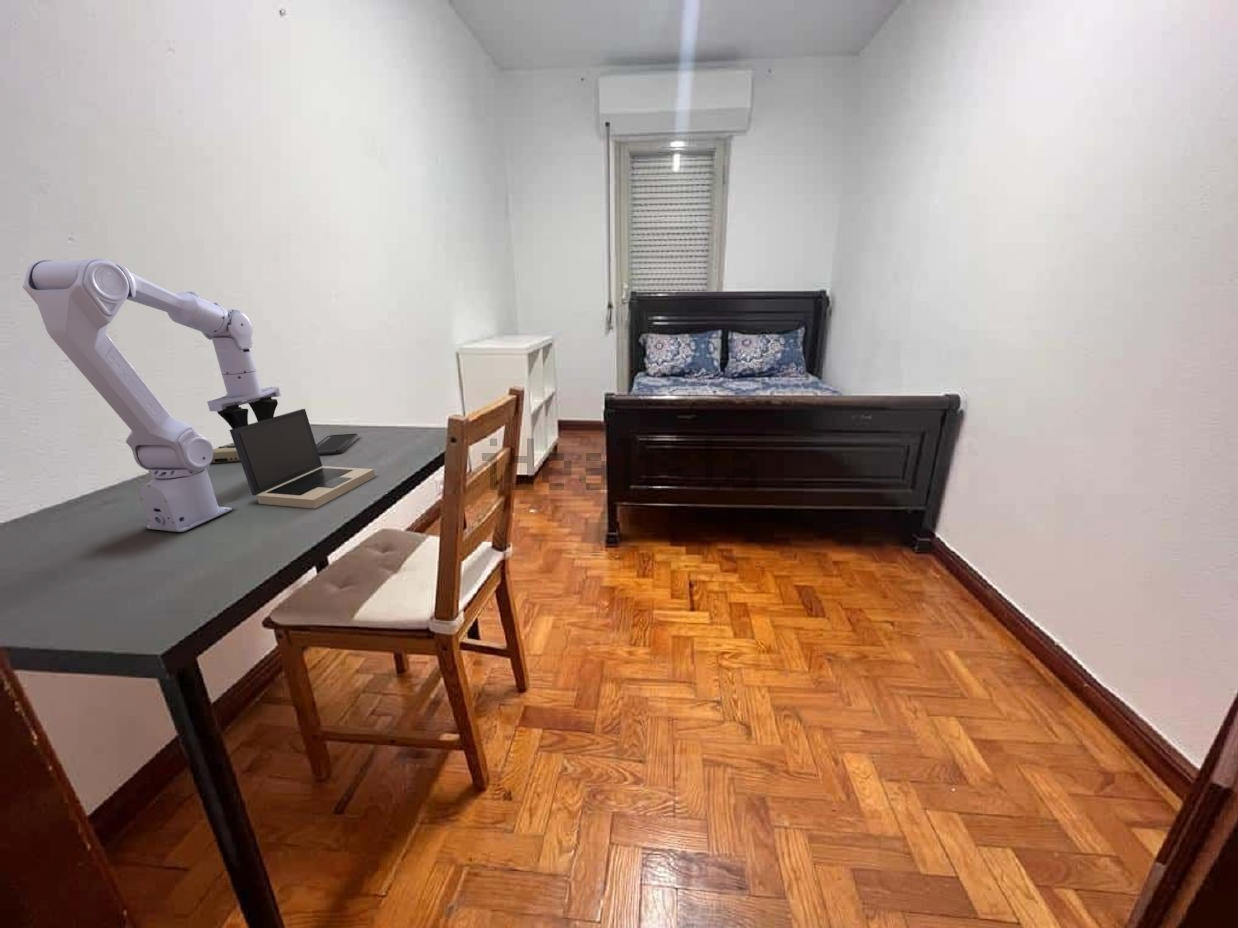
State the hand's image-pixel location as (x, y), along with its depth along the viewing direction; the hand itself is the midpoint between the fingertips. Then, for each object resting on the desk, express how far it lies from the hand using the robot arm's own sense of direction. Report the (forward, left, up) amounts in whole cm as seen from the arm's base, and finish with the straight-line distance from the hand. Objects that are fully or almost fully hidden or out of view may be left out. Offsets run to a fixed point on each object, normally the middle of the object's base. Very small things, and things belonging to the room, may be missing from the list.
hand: (256, 437), depth 107 cm
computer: (+14, +20, -10) cm, 26 cm away
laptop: (-2, -15, -10) cm, 18 cm away
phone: (+25, +5, -10) cm, 27 cm away
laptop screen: (-2, -8, -2) cm, 8 cm away
